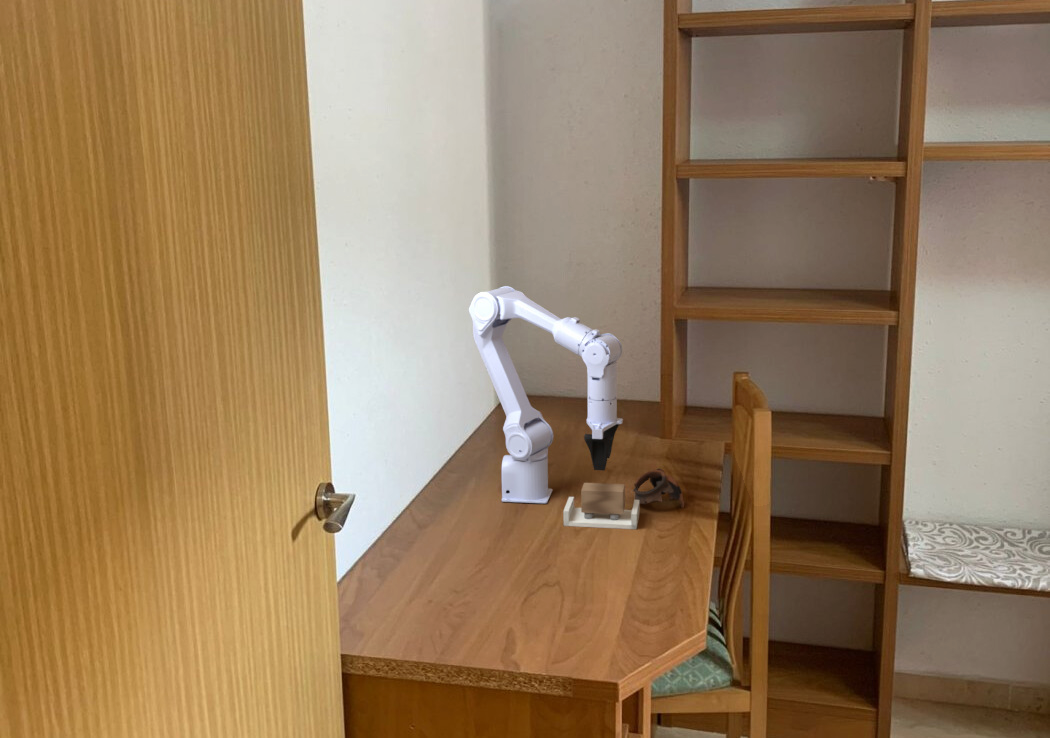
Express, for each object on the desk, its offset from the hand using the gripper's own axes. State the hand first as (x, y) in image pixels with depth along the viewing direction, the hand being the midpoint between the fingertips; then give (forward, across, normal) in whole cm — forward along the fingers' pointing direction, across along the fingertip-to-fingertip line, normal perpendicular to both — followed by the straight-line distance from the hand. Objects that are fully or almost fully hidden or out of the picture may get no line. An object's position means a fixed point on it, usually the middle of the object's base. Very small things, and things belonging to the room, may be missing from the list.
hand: (602, 463), depth 205 cm
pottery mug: (+10, +6, -11) cm, 16 cm away
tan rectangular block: (+8, -5, -1) cm, 9 cm away
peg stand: (+10, -5, -1) cm, 11 cm away
